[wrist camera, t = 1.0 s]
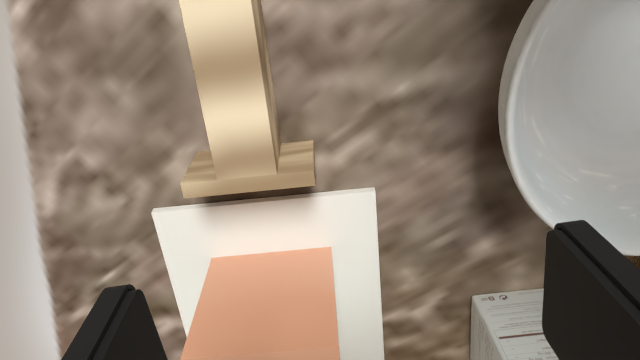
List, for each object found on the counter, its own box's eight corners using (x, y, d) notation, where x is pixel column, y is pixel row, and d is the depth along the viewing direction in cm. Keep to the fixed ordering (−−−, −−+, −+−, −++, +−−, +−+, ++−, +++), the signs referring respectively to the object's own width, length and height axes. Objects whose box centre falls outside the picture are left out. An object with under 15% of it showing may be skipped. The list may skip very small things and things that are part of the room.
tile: (211, 257, 37) (180, 360, 28) (331, 246, 36) (338, 346, 27) (215, 275, 37) (186, 380, 28) (333, 264, 37) (341, 367, 28)
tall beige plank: (146, -78, 28) (114, -81, 23) (287, -93, 27) (283, -100, 23) (200, 164, 34) (183, 198, 30) (314, 153, 34) (315, 185, 29)
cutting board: (153, 208, 35) (151, 212, 35) (374, 187, 35) (375, 191, 34) (203, 385, 43) (202, 391, 43) (384, 369, 43) (385, 375, 42)
